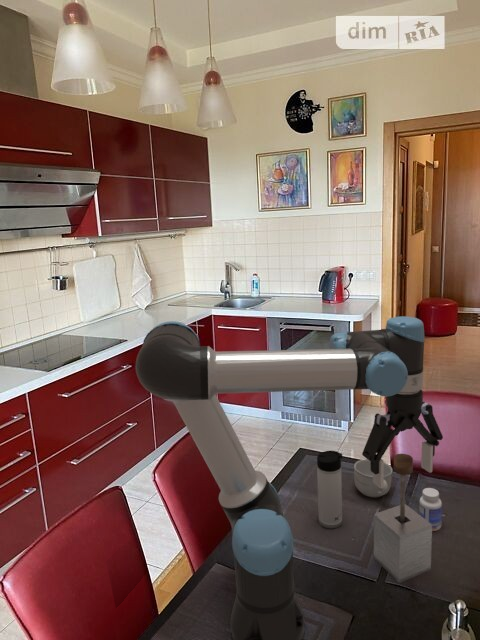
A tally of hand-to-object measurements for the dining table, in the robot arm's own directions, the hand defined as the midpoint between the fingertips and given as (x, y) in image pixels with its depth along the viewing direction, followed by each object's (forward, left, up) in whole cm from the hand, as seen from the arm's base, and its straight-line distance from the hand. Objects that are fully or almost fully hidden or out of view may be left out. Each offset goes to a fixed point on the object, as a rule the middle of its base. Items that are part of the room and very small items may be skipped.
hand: (403, 477), depth 111 cm
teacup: (+12, +26, -23) cm, 37 cm away
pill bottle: (+16, +8, -23) cm, 29 cm away
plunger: (0, 0, -13) cm, 13 cm away
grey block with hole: (0, +1, -23) cm, 23 cm away
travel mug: (-6, +21, -23) cm, 32 cm away
